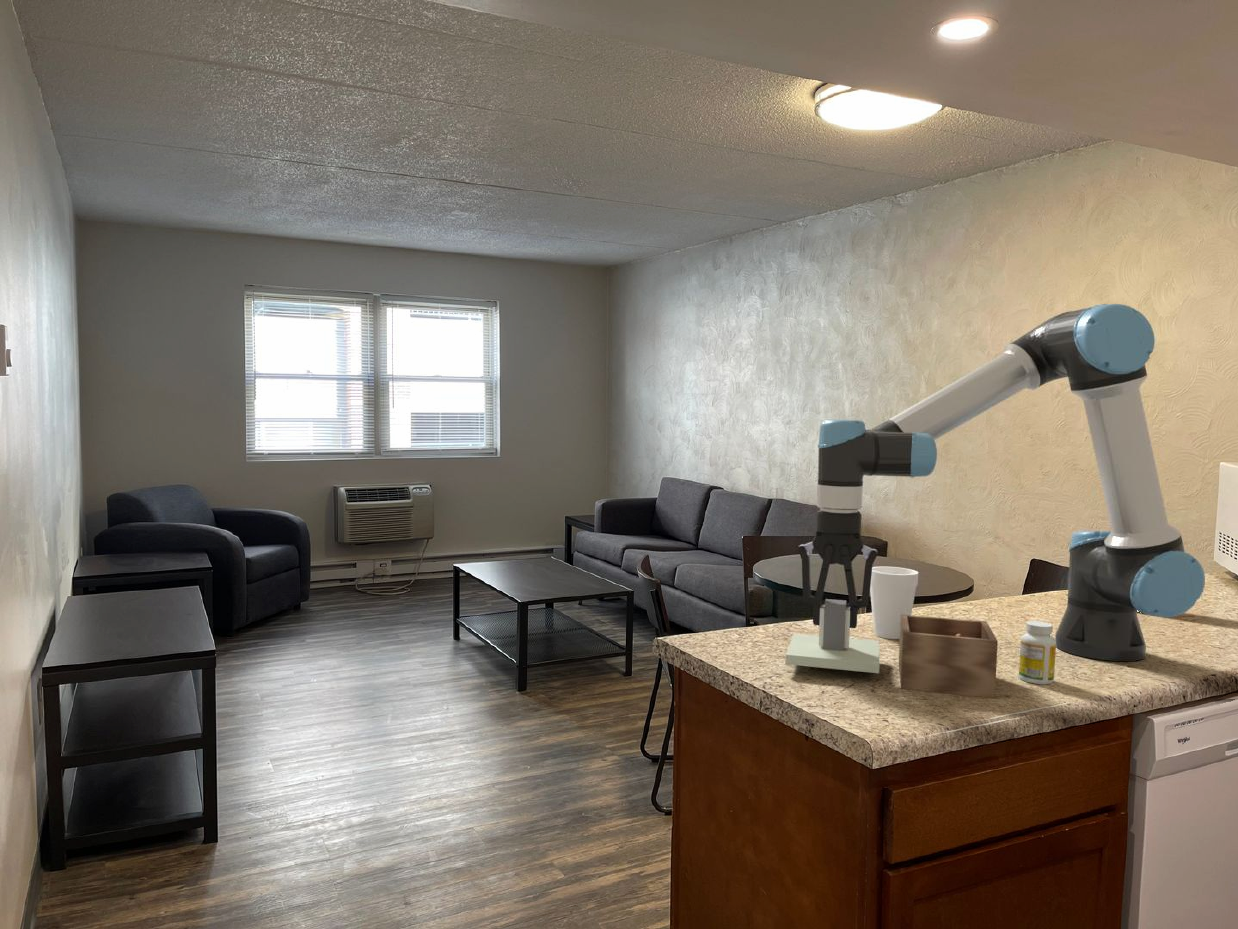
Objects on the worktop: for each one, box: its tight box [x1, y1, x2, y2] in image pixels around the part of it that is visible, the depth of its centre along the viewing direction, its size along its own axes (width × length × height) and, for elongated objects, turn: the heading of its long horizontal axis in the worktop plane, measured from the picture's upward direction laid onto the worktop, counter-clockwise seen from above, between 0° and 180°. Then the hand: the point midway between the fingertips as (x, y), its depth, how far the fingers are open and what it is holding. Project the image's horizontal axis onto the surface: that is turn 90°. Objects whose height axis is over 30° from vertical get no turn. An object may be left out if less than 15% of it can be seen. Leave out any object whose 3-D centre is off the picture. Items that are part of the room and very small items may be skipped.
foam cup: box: [870, 566, 919, 640], centre depth 176 cm, size 10×9×13 cm
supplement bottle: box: [1018, 620, 1057, 685], centre depth 148 cm, size 5×5×10 cm
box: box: [898, 614, 998, 699], centre depth 146 cm, size 14×14×9 cm
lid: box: [785, 598, 880, 674], centre depth 152 cm, size 15×15×10 cm
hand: (834, 644), depth 152 cm, fingers open, 4 cm apart
